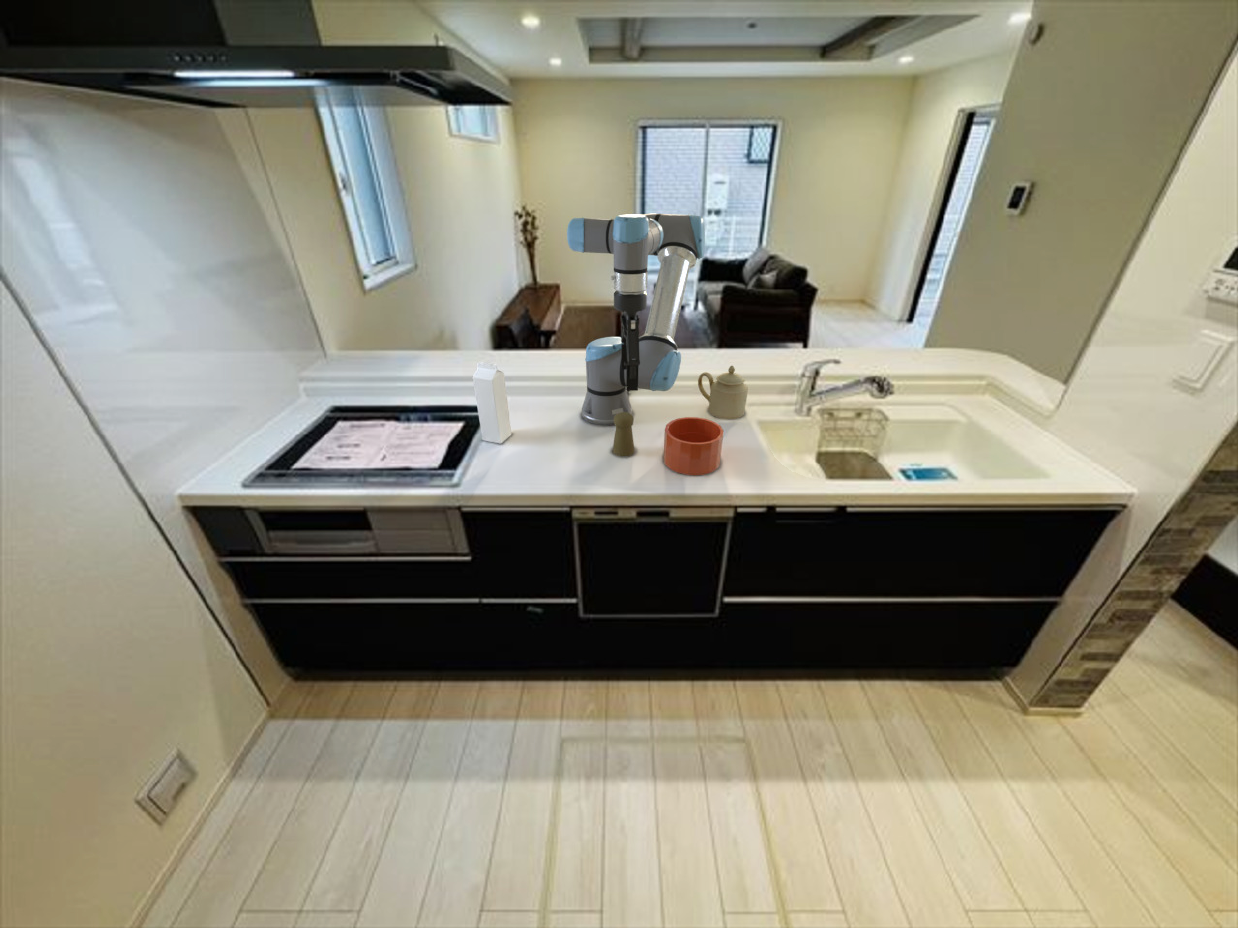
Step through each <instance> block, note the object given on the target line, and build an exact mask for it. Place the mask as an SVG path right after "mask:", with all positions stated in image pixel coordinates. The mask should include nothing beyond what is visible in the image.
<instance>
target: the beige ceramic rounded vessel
mask: <svg viewBox="0 0 1238 928" xmlns="http://www.w3.org/2000/svg"><path fill="white" fill-rule="evenodd" d="M727 371H728V372H723V373H721V374H719V375H717V377H716V380H714V378H713V376H712V374H711V373H710V372H702V373H700V375H699V376H698V379H697V386H698V390H699V392H700V393H701V395H702V396H703V397H704V398H705V399H706V400H707V402H708V412H709V414H711V416H714V417H716V418H719V419H724V420H735V419H739V418H741V417H743V416H744V415H745V410H746V407H747V406H746V405H747V401H748V400H747V399H748V391H749V387H748V385H747V384H746V383H745V382H746V379H745V378H744V377H743V376H741V375H740V374H738V373H736V372H735V371H736V368H735V367H734V365H730V366H729V367H728V370H727ZM703 377H706V378H707V379H708V383H709V390H710V391H709V392H710V393H709V394H708V393H707V391H706V390H705V388H704V384H703Z"/></svg>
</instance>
